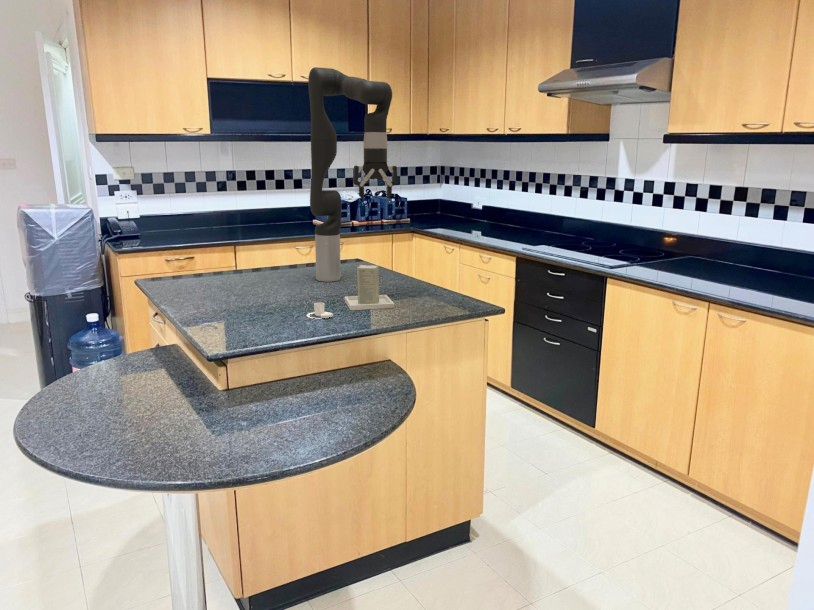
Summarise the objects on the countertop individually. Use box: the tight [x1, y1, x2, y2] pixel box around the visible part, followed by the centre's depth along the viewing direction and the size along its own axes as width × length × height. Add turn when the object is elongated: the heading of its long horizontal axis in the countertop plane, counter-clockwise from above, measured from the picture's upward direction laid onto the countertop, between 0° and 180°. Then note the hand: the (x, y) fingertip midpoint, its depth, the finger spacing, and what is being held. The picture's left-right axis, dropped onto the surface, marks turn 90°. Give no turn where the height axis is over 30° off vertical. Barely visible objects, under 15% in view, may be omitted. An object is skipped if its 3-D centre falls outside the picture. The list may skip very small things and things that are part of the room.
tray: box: [344, 294, 395, 311], centre depth 208 cm, size 12×14×2 cm
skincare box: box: [356, 264, 380, 304], centre depth 206 cm, size 6×4×12 cm
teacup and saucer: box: [306, 302, 334, 320], centre depth 194 cm, size 9×8×4 cm
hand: (375, 198), depth 210 cm, fingers open, 8 cm apart
